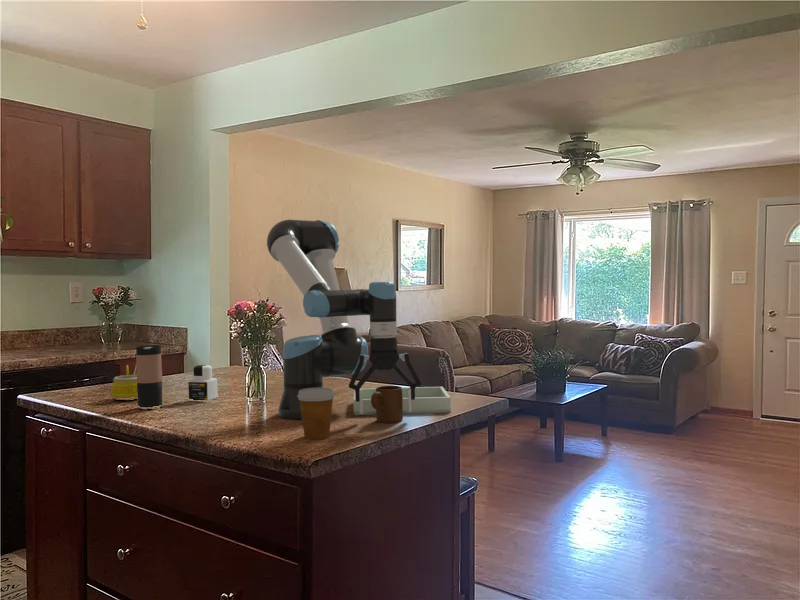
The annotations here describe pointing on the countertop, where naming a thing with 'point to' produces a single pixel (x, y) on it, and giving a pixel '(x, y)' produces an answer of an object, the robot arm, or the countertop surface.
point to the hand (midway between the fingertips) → (385, 412)
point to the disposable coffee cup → (316, 411)
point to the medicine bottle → (203, 384)
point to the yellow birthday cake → (125, 385)
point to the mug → (388, 404)
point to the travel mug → (149, 375)
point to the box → (423, 402)
